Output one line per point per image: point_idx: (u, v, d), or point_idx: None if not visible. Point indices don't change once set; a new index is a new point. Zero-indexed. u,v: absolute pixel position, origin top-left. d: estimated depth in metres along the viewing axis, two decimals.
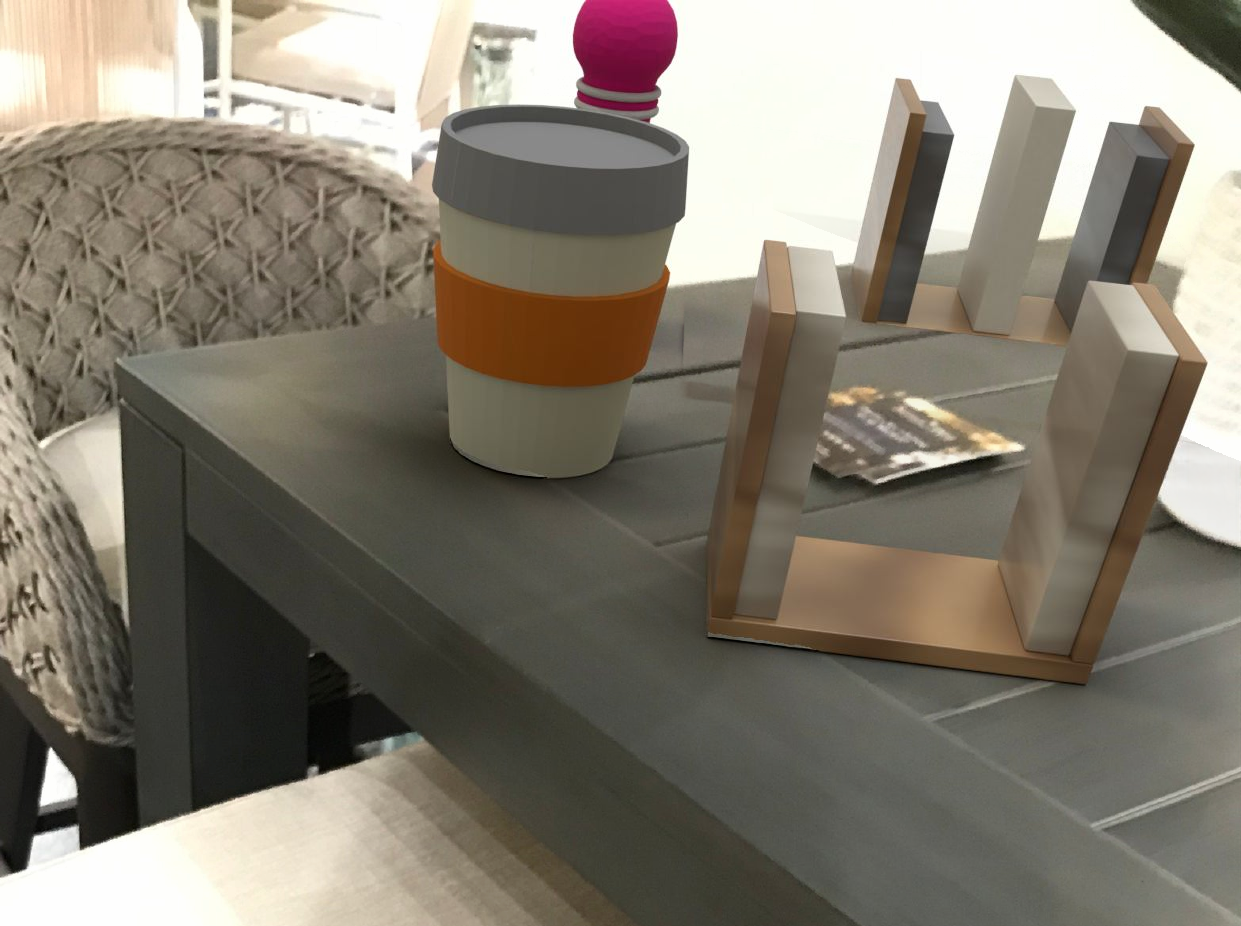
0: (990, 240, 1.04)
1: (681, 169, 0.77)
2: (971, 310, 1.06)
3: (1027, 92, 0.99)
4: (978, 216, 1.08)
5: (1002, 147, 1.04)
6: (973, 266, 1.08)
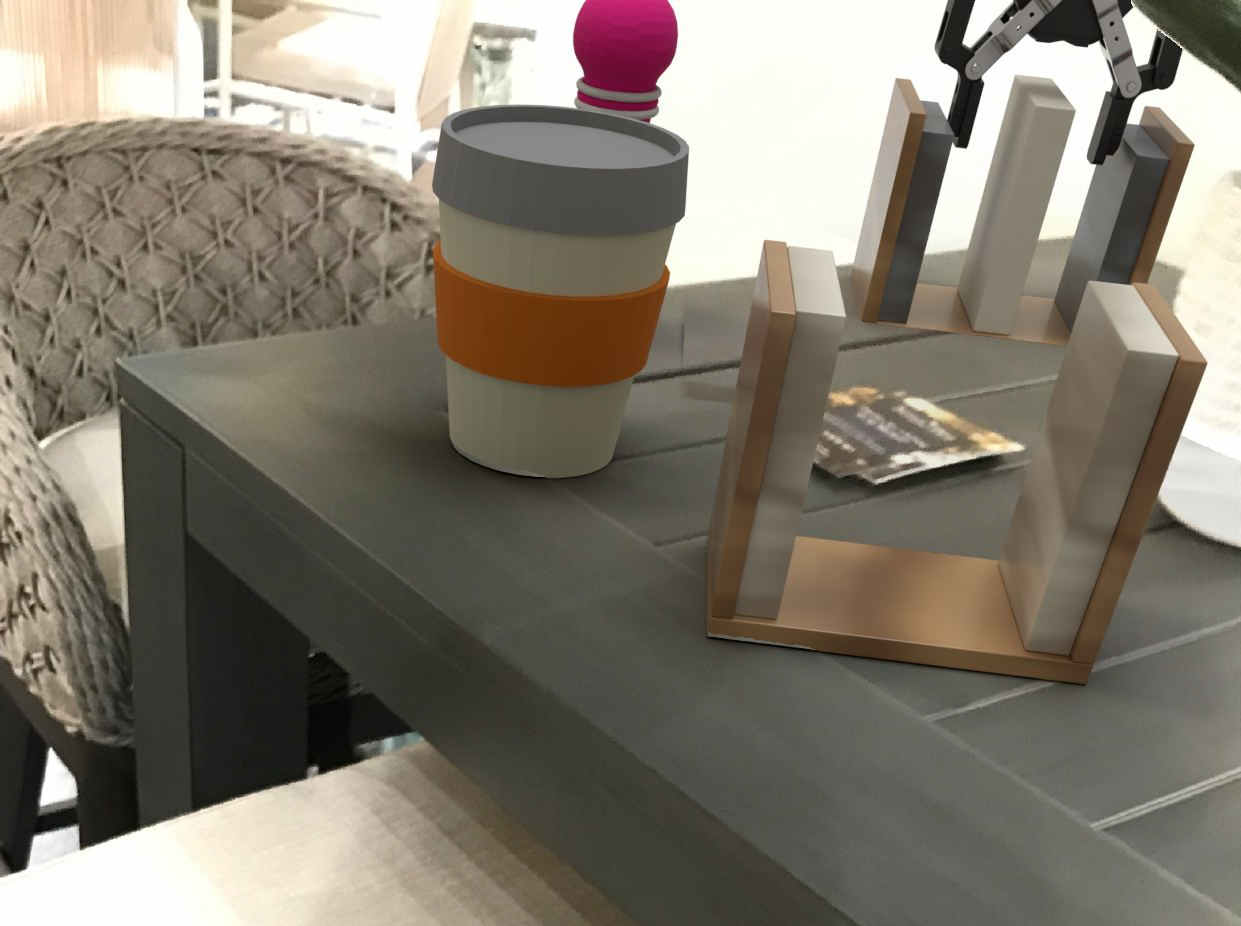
0: (990, 240, 1.04)
1: (681, 169, 0.77)
2: (971, 310, 1.06)
3: (1027, 92, 0.99)
4: (978, 216, 1.08)
5: (1002, 147, 1.04)
6: (973, 266, 1.08)
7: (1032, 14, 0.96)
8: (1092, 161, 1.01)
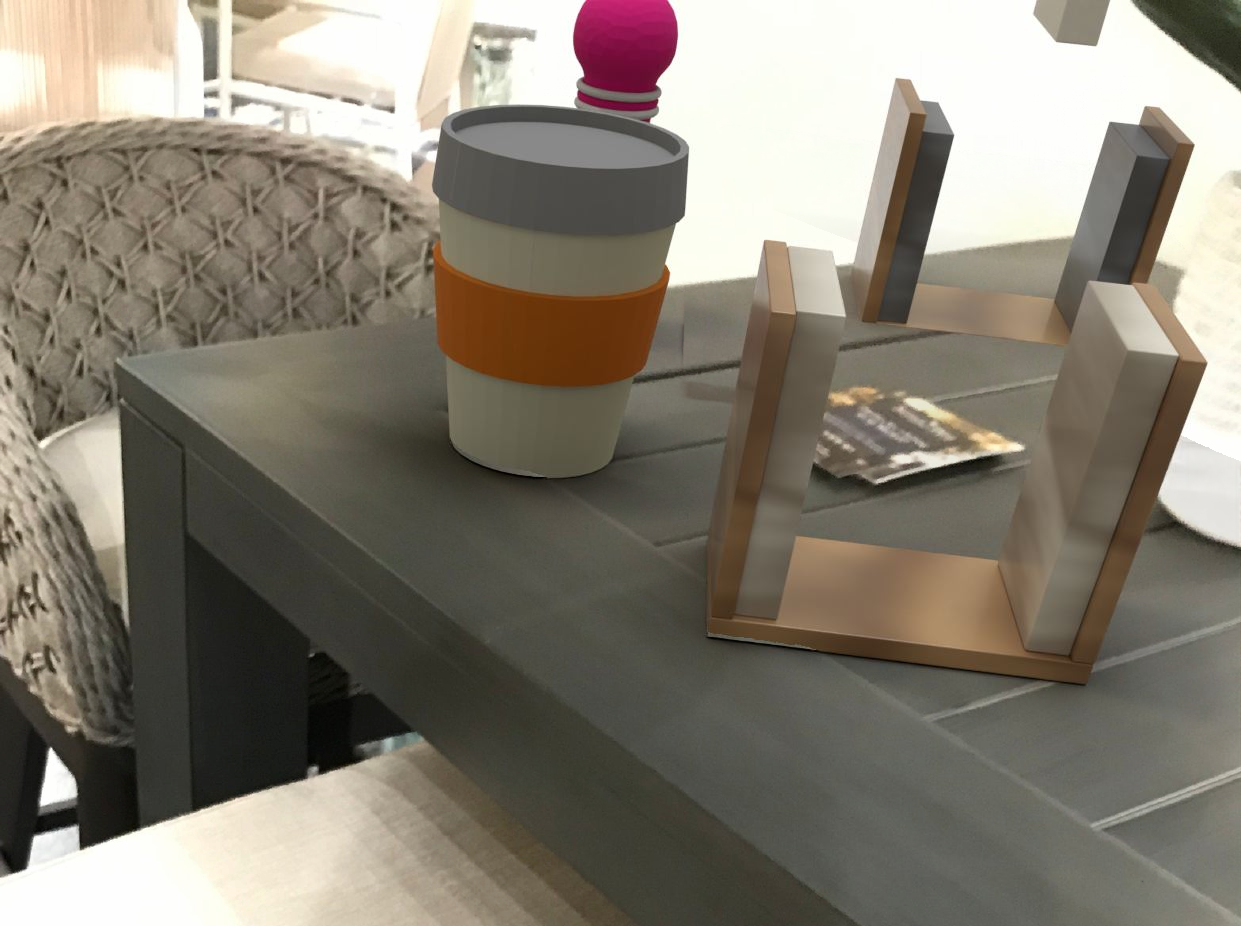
0: None
1: (681, 169, 0.77)
2: (1052, 22, 0.95)
3: None
4: None
5: None
6: None
7: None
8: None
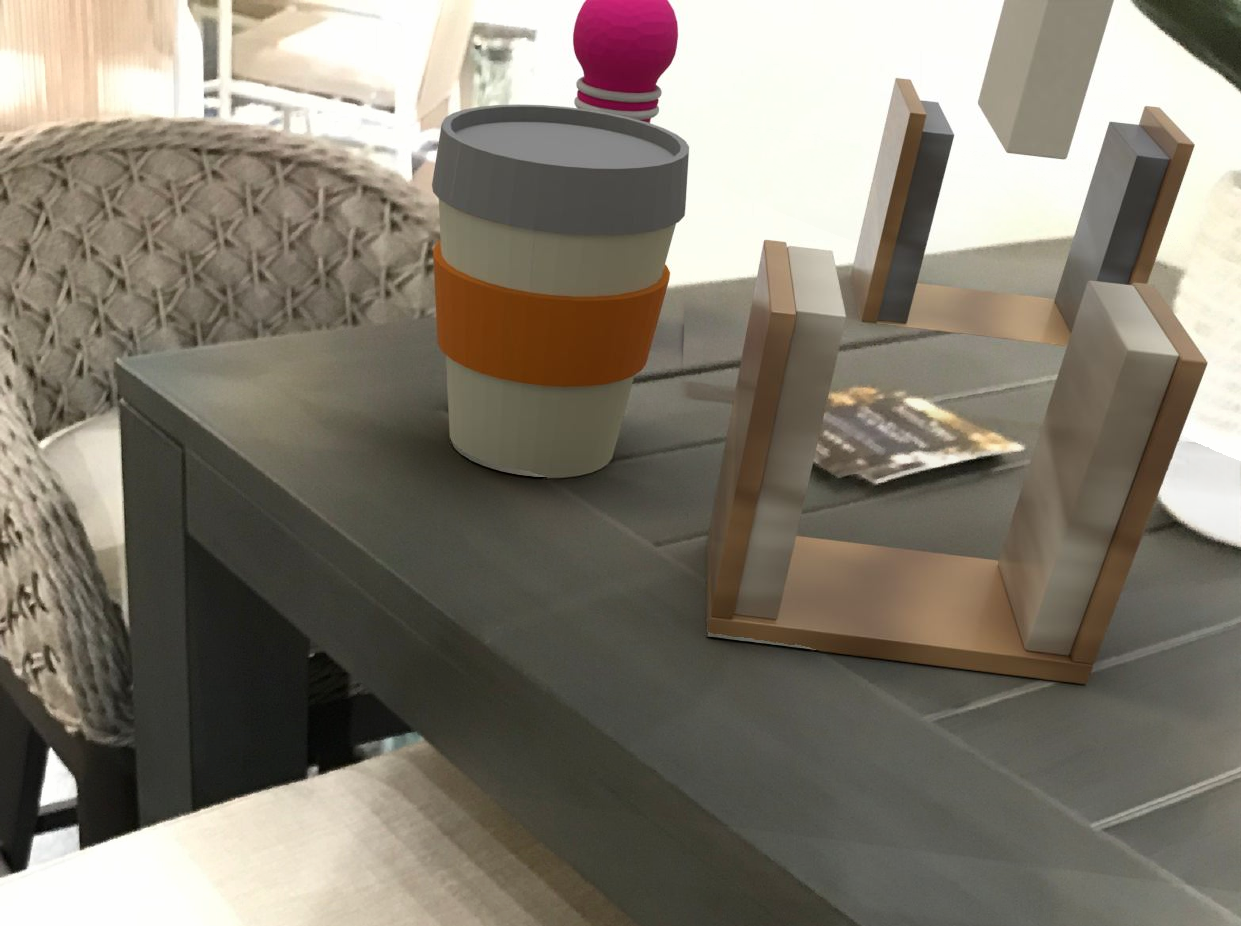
0: None
1: (681, 169, 0.77)
2: (1002, 122, 0.65)
3: None
4: None
5: None
6: (1005, 54, 0.66)
7: None
8: None
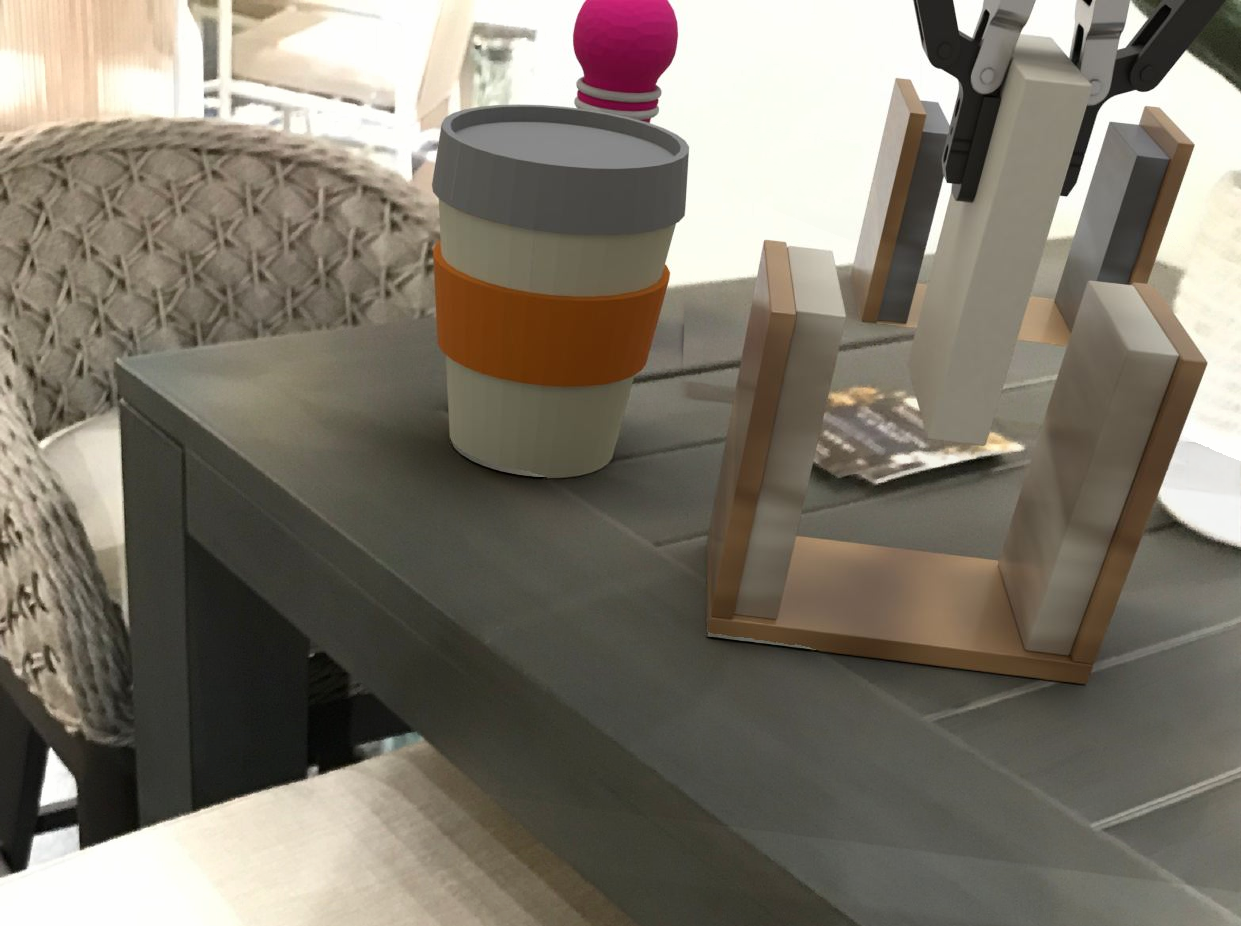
0: (953, 296, 0.65)
1: (681, 169, 0.77)
2: (925, 404, 0.68)
3: (1011, 57, 0.60)
4: (937, 255, 0.69)
5: None
6: (929, 334, 0.69)
7: None
8: None
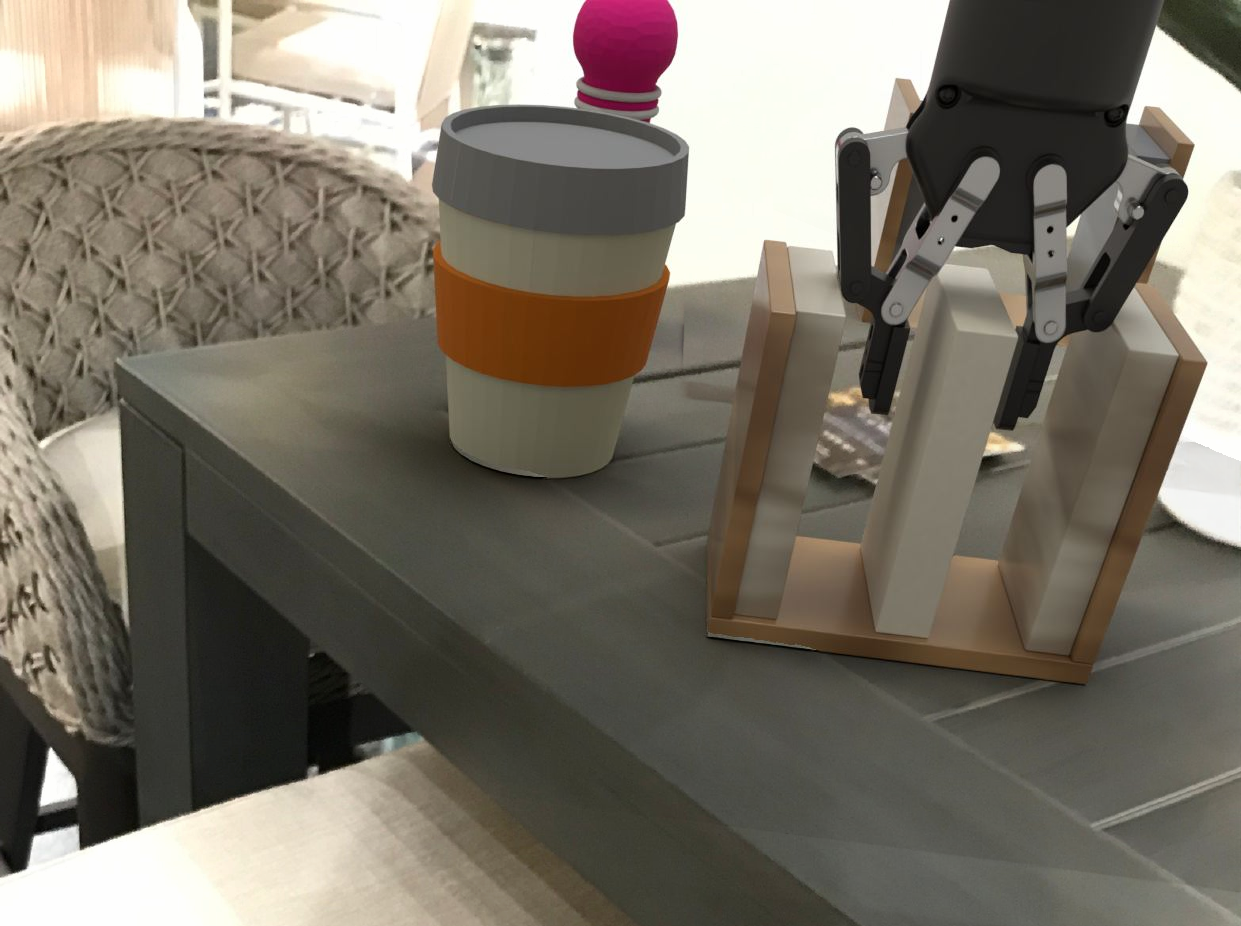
0: (898, 505, 0.71)
1: (681, 169, 0.77)
2: (874, 597, 0.73)
3: (947, 300, 0.66)
4: (886, 454, 0.75)
5: (916, 367, 0.71)
6: (878, 528, 0.74)
7: (957, 215, 0.64)
8: (998, 426, 0.69)
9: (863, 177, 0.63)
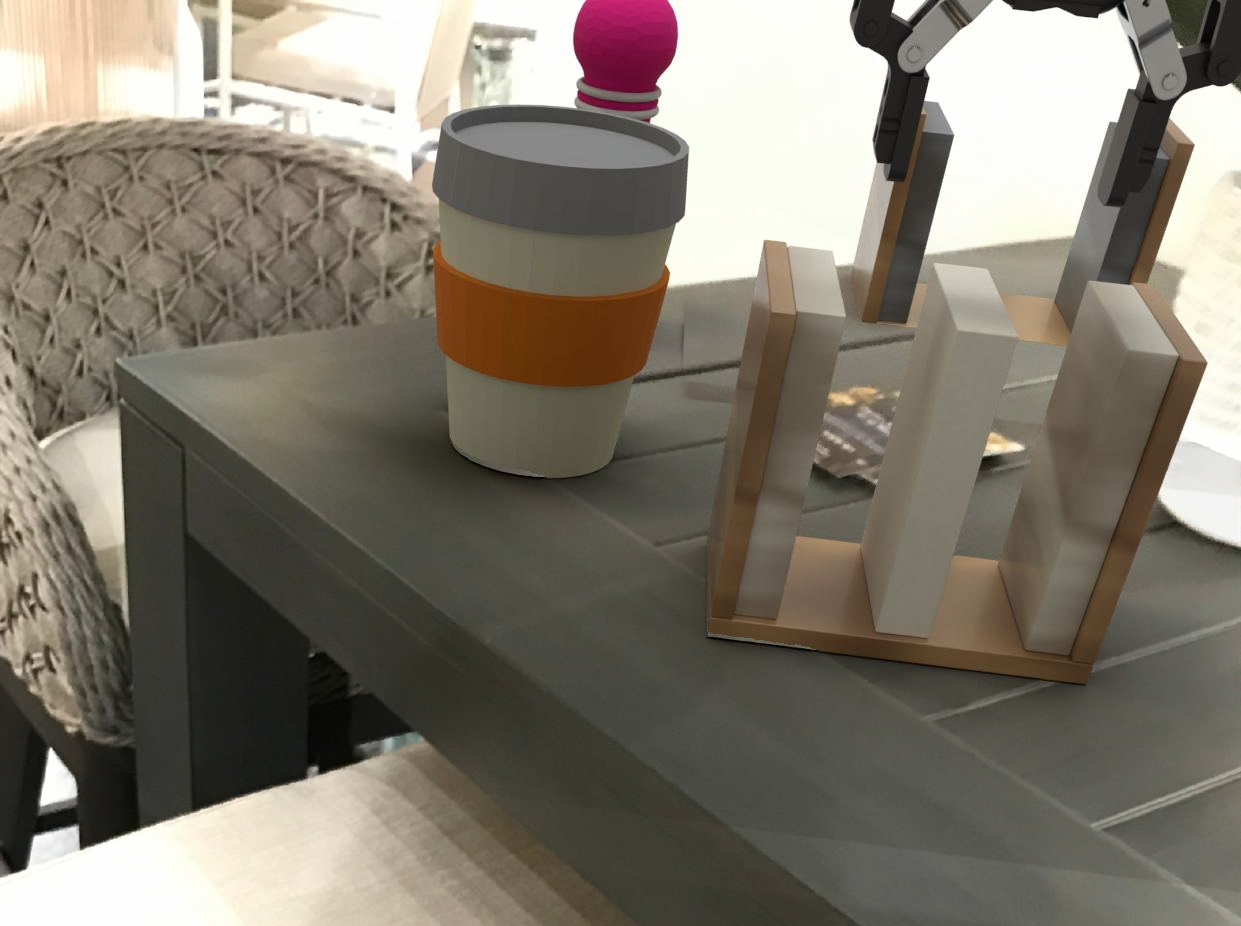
0: (898, 505, 0.71)
1: (681, 169, 0.77)
2: (874, 597, 0.73)
3: (947, 300, 0.66)
4: (886, 454, 0.75)
5: (916, 367, 0.71)
6: (878, 528, 0.74)
7: None
8: (1106, 201, 0.63)
9: None
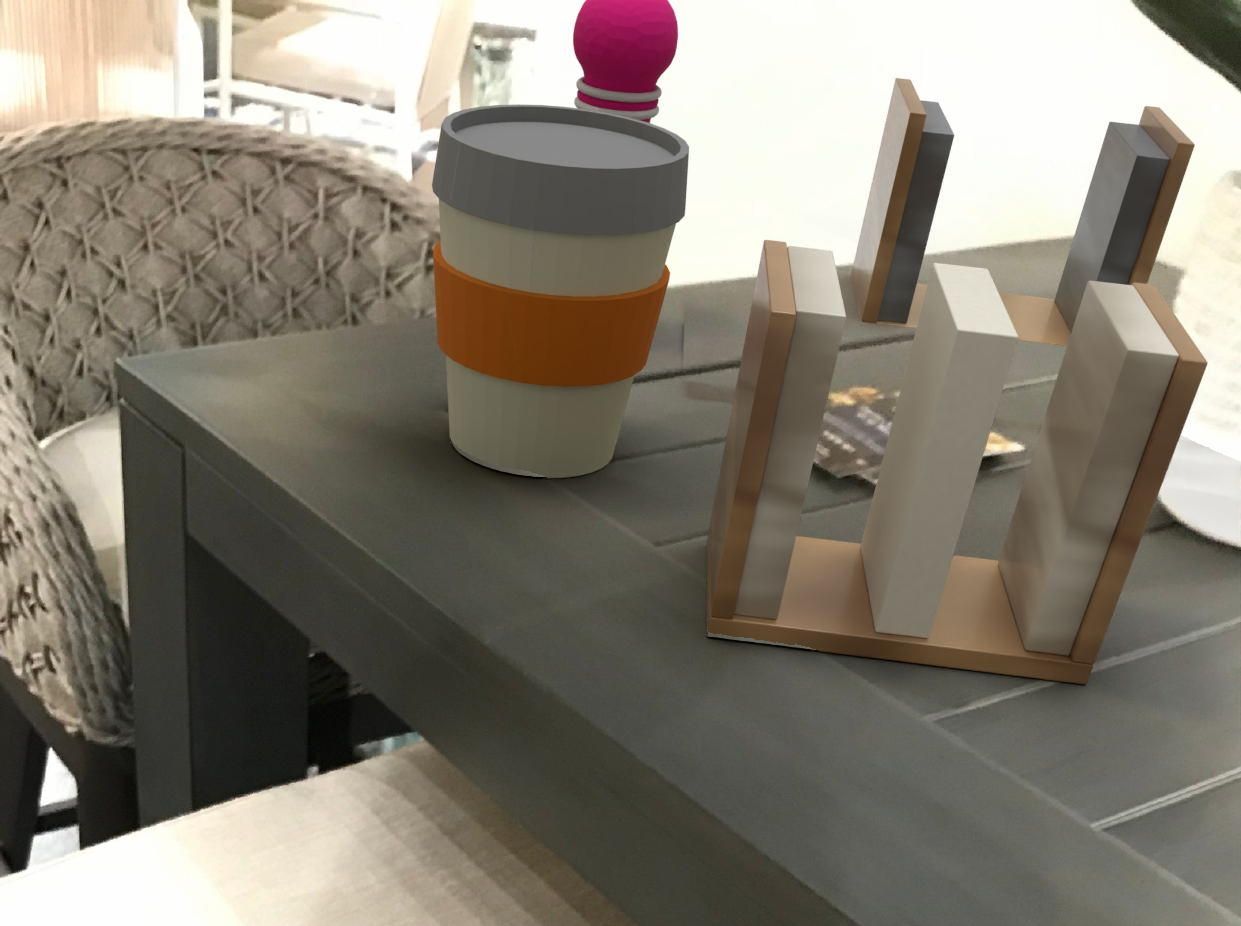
0: (898, 505, 0.71)
1: (681, 169, 0.77)
2: (874, 597, 0.73)
3: (947, 300, 0.66)
4: (886, 454, 0.75)
5: (916, 367, 0.71)
6: (878, 528, 0.74)
7: None
8: None
9: None
